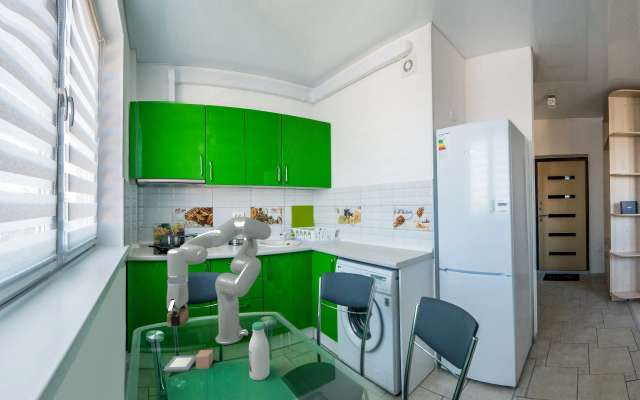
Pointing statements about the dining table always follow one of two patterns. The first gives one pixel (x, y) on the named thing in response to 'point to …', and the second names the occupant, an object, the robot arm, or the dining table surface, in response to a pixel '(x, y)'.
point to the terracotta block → (204, 359)
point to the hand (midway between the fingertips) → (179, 321)
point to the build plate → (180, 363)
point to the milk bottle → (258, 353)
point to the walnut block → (183, 317)
